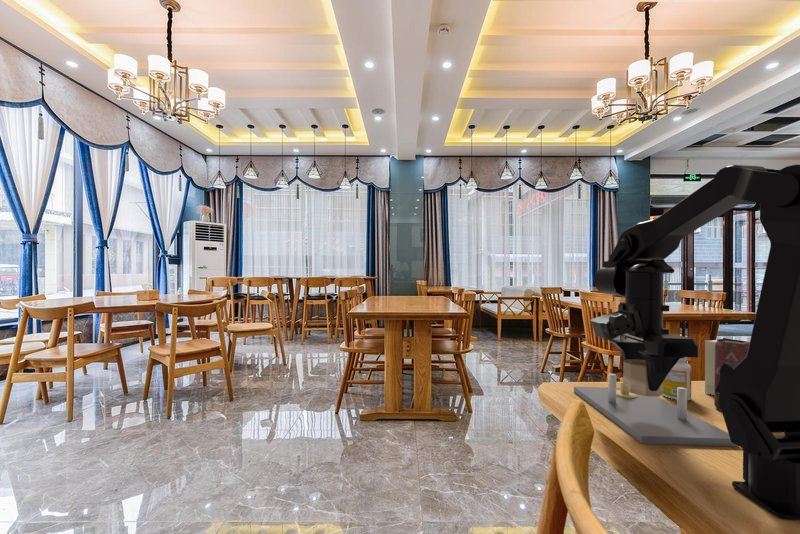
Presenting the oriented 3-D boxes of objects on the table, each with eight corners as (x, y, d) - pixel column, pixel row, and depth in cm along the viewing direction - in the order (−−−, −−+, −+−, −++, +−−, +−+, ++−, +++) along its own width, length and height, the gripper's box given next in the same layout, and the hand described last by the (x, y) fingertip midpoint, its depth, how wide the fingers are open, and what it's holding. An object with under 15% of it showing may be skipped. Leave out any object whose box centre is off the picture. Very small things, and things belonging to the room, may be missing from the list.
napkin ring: (668, 396, 63) (669, 367, 63) (635, 395, 63) (636, 366, 63) (648, 386, 68) (648, 359, 68) (618, 385, 69) (618, 358, 69)
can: (766, 419, 69) (766, 344, 69) (727, 415, 71) (727, 342, 71) (743, 407, 75) (743, 339, 75) (707, 404, 77) (708, 337, 77)
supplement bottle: (673, 392, 84) (673, 349, 85) (697, 400, 79) (697, 355, 79) (654, 393, 83) (655, 350, 83) (678, 402, 78) (678, 356, 78)
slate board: (739, 446, 58) (739, 404, 58) (641, 443, 59) (642, 401, 59) (641, 393, 83) (641, 364, 83) (573, 391, 84) (574, 362, 84)
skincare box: (725, 399, 80) (725, 343, 80) (703, 393, 84) (703, 340, 84) (745, 397, 81) (746, 342, 81) (723, 391, 86) (723, 339, 86)
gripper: (575, 293, 75) (574, 369, 75) (627, 302, 57) (626, 403, 57) (630, 294, 75) (629, 371, 75) (702, 303, 56) (700, 405, 56)
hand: (642, 385), depth 66 cm, fingers closed on napkin ring, 5 cm apart
